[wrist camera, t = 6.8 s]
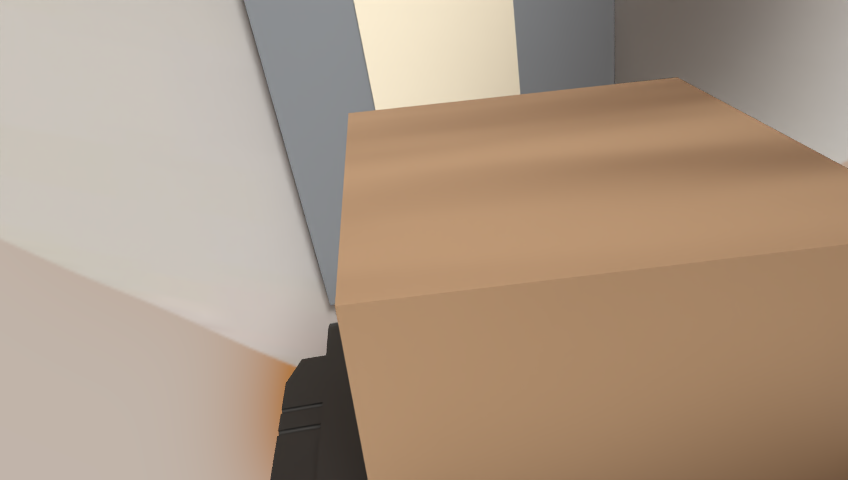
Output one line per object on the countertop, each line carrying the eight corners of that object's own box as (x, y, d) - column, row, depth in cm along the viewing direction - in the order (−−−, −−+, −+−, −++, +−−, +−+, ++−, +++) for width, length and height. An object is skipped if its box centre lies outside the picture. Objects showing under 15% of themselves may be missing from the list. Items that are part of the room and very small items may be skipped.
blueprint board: (214, -123, 21) (207, -124, 20) (603, -193, 21) (615, -197, 20) (331, 293, 30) (330, 306, 29) (607, 243, 30) (615, 254, 29)
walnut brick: (348, 112, 9) (333, 306, 5) (677, 77, 9) (963, 229, 5) (402, 478, 13) (423, 771, 8) (632, 448, 13) (769, 720, 9)
